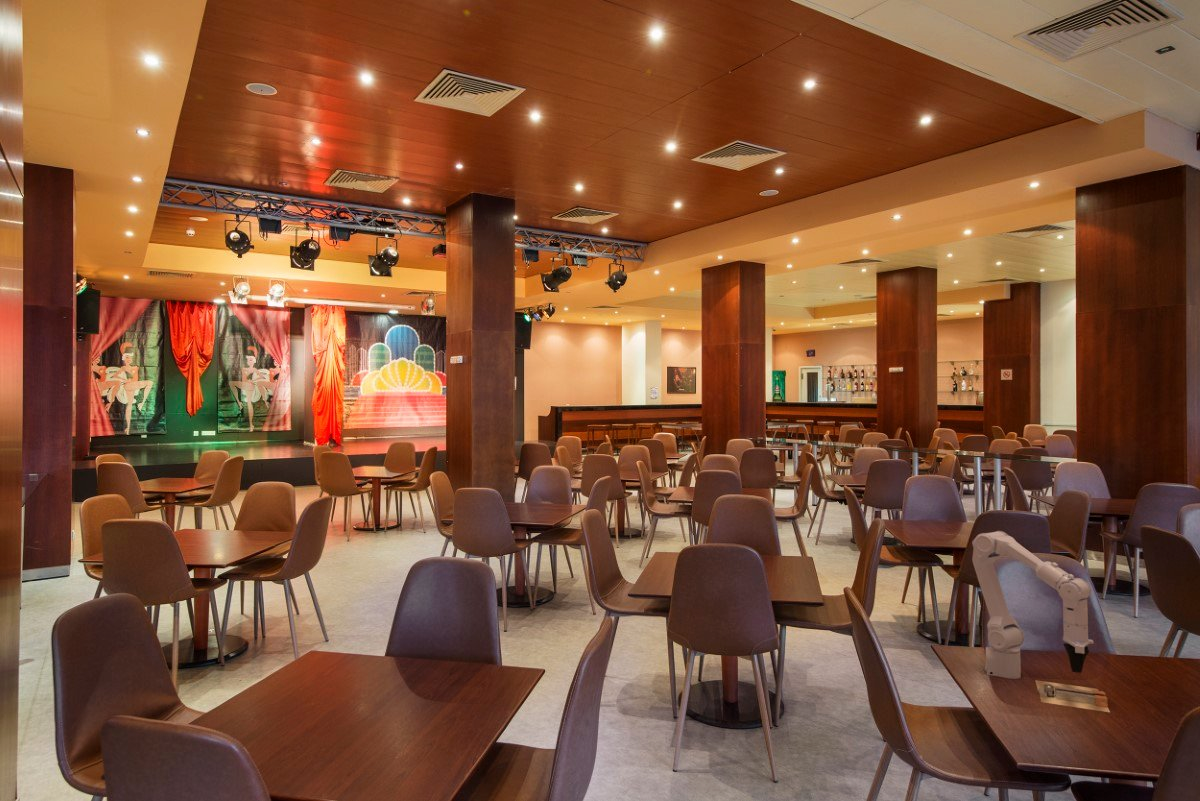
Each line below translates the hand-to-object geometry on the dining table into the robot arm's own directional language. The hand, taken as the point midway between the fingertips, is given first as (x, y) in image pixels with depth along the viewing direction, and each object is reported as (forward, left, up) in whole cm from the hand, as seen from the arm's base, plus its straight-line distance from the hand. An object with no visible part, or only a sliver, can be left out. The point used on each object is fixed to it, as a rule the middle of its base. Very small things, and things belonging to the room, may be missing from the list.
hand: (1076, 671), depth 196 cm
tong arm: (0, -2, -6) cm, 7 cm away
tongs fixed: (-2, -4, -7) cm, 8 cm away
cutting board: (-2, -1, -8) cm, 8 cm away
